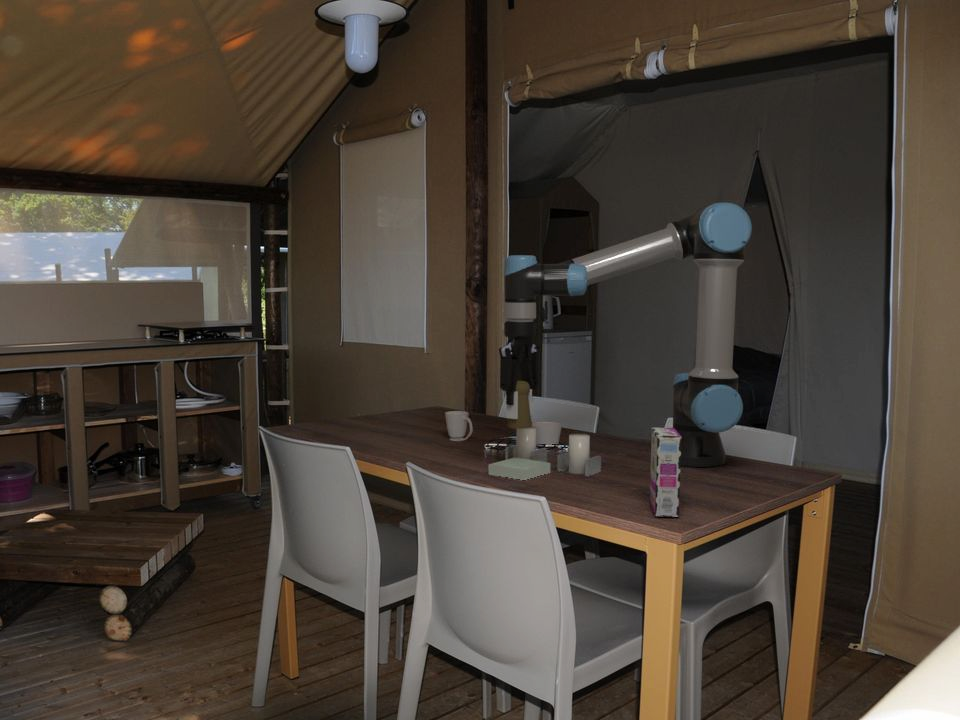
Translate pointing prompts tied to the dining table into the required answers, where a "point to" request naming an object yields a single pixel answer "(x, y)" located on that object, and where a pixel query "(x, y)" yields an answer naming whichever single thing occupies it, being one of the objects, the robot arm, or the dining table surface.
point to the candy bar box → (665, 472)
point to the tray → (519, 468)
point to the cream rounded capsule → (525, 442)
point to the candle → (547, 432)
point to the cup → (458, 425)
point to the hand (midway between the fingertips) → (519, 416)
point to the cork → (522, 407)
